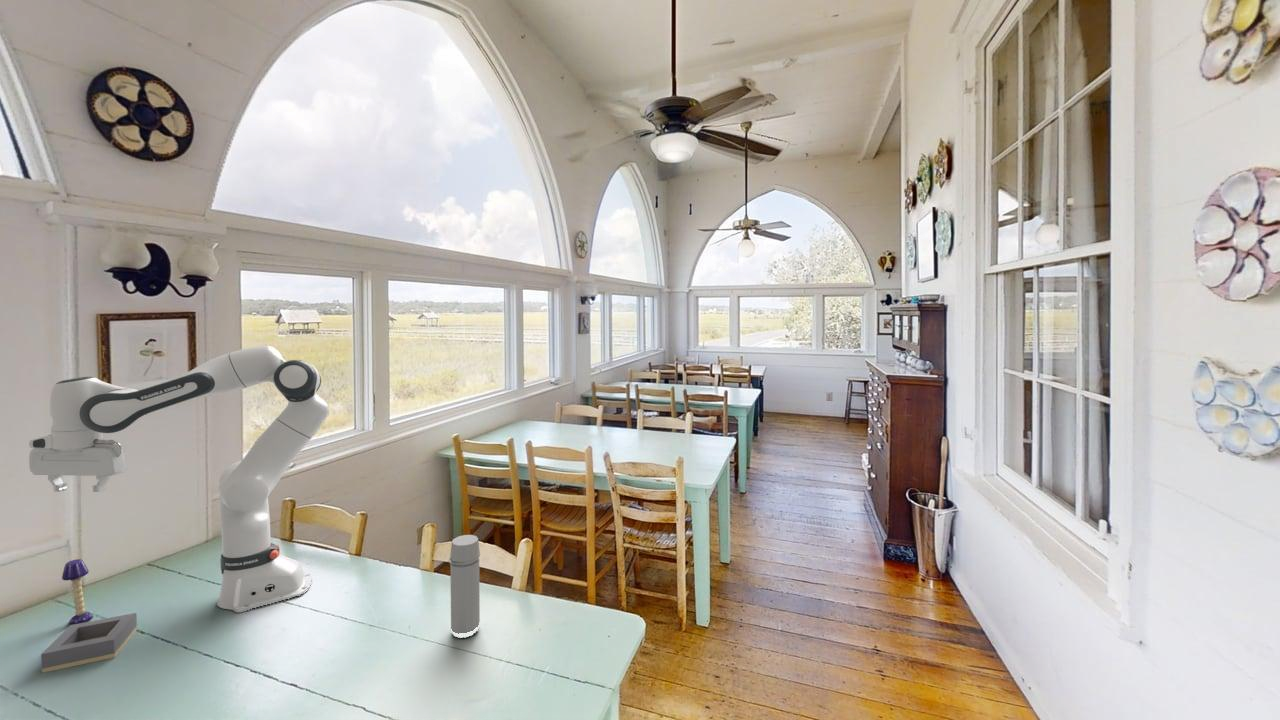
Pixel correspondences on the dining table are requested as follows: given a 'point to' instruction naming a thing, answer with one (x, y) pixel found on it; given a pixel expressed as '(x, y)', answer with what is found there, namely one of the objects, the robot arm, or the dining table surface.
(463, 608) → the water bottle
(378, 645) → the dining table surface
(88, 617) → the toy lamp
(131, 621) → the socket block
